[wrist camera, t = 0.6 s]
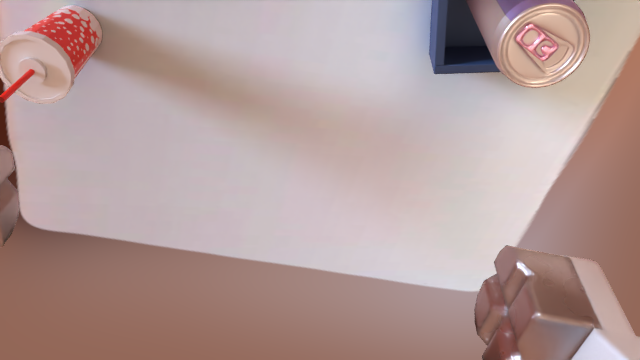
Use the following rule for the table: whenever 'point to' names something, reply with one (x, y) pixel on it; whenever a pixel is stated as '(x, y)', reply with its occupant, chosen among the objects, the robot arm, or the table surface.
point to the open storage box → (457, 40)
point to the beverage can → (533, 38)
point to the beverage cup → (49, 55)
